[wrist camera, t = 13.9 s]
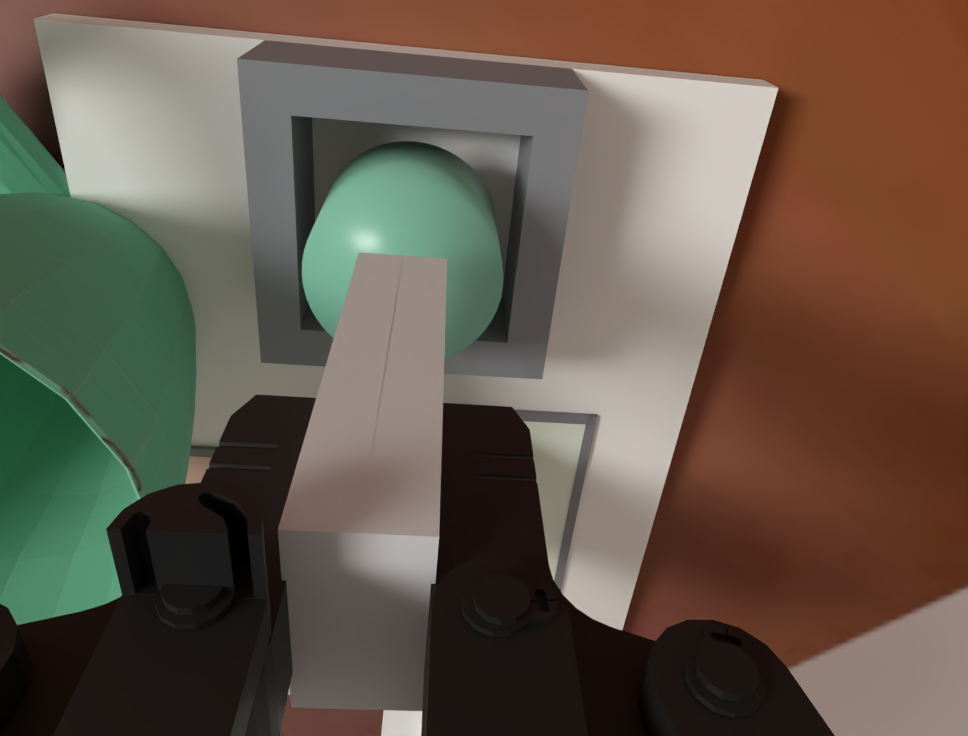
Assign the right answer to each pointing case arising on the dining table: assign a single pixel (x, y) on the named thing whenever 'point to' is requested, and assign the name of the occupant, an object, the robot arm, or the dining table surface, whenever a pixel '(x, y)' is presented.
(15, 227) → the mug
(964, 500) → the dining table surface
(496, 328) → the board
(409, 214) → the button
